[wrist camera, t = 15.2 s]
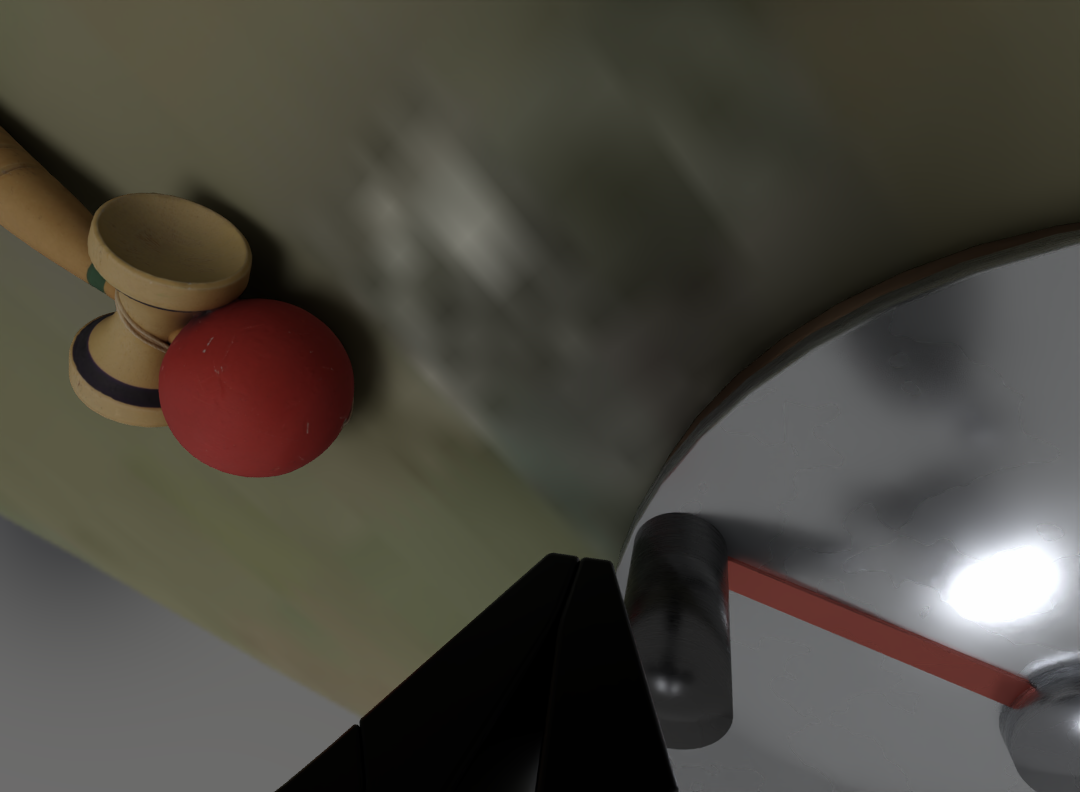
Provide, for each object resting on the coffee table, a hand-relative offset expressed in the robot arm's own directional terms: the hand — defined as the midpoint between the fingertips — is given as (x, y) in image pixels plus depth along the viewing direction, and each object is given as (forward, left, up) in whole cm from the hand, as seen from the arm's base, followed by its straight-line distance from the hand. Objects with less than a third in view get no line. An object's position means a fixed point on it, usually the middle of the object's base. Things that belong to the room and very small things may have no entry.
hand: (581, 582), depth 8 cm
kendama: (0, -18, -13) cm, 22 cm away
